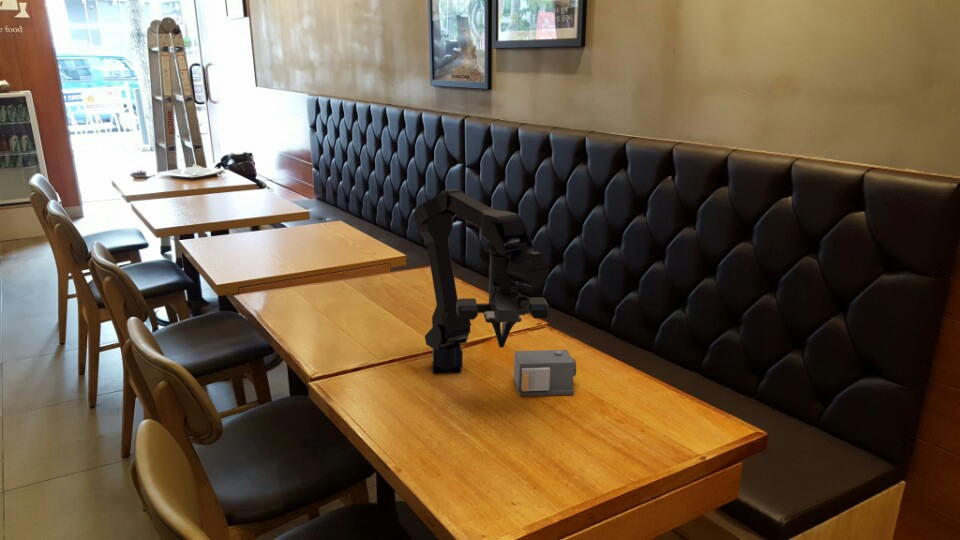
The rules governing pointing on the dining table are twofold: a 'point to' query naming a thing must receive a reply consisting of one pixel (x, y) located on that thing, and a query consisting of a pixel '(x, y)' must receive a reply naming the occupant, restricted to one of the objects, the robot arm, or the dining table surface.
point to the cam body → (559, 370)
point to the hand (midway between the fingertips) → (501, 346)
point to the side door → (535, 379)
